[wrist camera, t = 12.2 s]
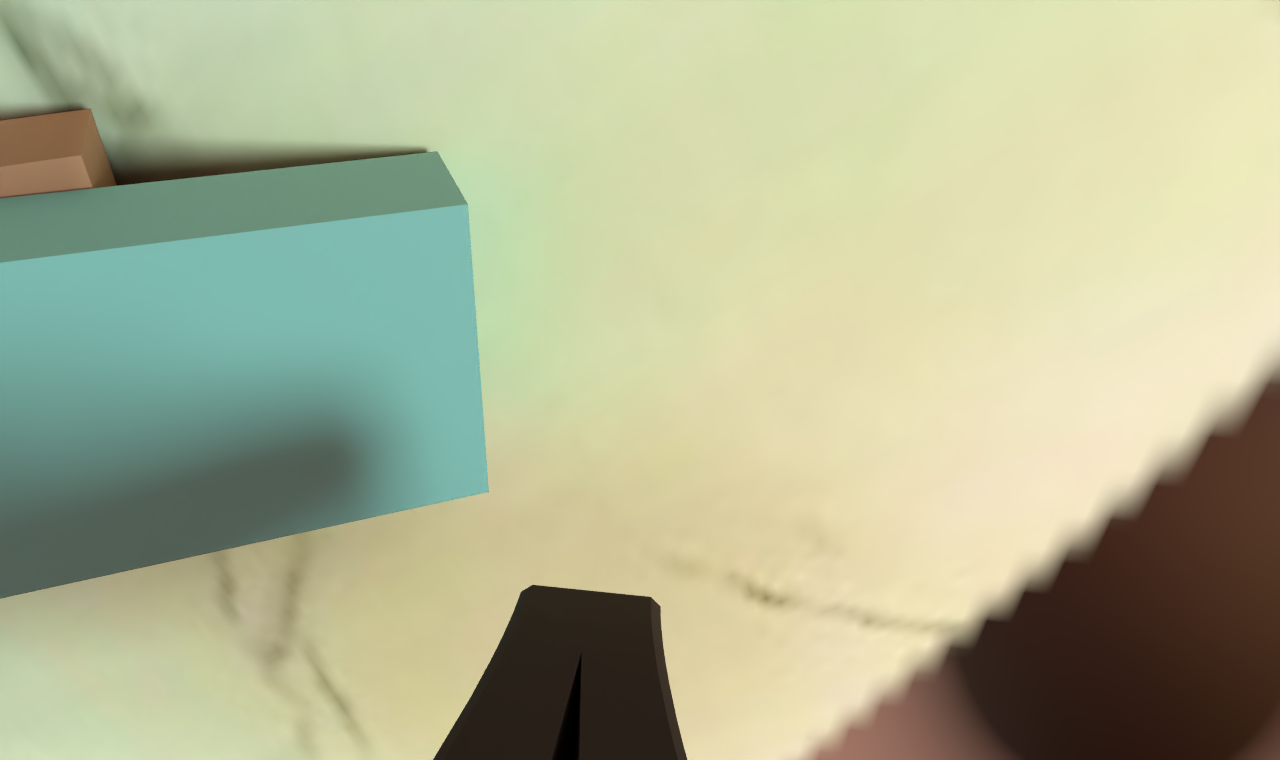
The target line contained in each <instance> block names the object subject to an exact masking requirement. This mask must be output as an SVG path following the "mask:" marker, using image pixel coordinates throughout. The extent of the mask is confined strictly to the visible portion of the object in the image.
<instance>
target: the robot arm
mask: <svg viewBox="0 0 1280 760" xmlns="http://www.w3.org/2000/svg"><path fill="white" fill-rule="evenodd" d="M433 760H687V757H686V753H685V750H684V746H683V742H682V738H681V734H680V730H679V726H678V722H677V718H676V714H675V709H674V704H673V699H672V695H671V690H670V685H669V680H668V674H667V669H666V663H665V656H664V649H663V641H662V631H661V617H660V606H659V605H658V604H657V603H656V602H655V601H654V600H653V599H652V598H651V597H645V596H635V595H625V594H616V593H606V592H596V591H586V590H577V589H567V588H557V587H547V586H538V585H532V586H530V587H528V588H527V589H525V590H523V591H522V592H521V594H520V596H519V599H518V602H517V604H516V607H515V610H514V612H513V615H512V617H511V619H510V621H509V624H508V626H507V628H506V630H505V632H504V635H503V637H502V639H501V641H500V643H499V645H498V647H497V649H496V651H495V653H494V655H493V657H492V659H491V661H490V663H489V665H488V666H487V668H486V670H485V672H484V674H483V676H482V678H481V679H480V681H479V683H478V685H477V687H476V689H475V690H474V692H473V694H472V696H471V698H470V699H469V701H468V703H467V704H466V706H465V708H464V709H463V711H462V713H461V714H460V716H459V718H458V719H457V721H456V723H455V724H454V726H453V728H452V729H451V731H450V733H449V734H448V736H447V738H446V739H445V741H444V743H443V744H442V746H441V748H440V749H439V751H438V753H437V754H436V756H435V758H434V759H433Z"/></svg>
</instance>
